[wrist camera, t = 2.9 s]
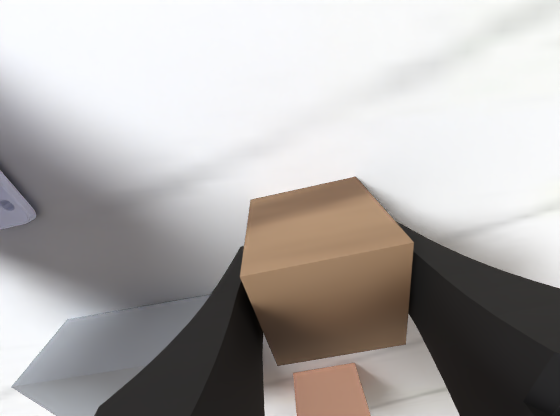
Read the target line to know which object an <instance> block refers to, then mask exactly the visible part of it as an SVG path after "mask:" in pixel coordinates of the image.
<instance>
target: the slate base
mask: <svg viewBox="0 0 560 416" xmlns="http://www.w3.org/2000/svg"><path fill="white" fill-rule="evenodd" d="M210 295H211V294H210ZM210 295H204V296H199V297H193V298H187V299H182V300H176V301H170V302H165V303H159V304H153V305H147V306H142V307H136V308H130V309H125V310H119V311H113V312H107V313H102V314H96V315H90V316H85V317H79V318H73V319H67V321H66V322H65V323H64V324H63V325H62V327H61V328H60V329H59V330H58V331H57V333H56V334H55V335H54V336H53V337H52V339H51V340H50V341H49V342H48V343H47V345H46V346H45V347H44V348H43V349H42V351H41V352H40V353H39V354H38V355H37V357H36V358H35V359H34V360H33V361H32V363H31V364H30V365H29V366H28V367H27V369H26V370H25V371H24V372H23V374H22V375H21V376H20V377H19V378H18V380H17V381H16V382H15V383H14V384H13V386H12V388H14V389H15V390H17V391H18V392H20V393H21V394H23V395H25V396H26V397H28V398H29V399H31V400H32V401H34V402H36V403H37V404H39V405H40V406H42V407H43V408H45V409H47V410H48V411H50V412H51V413H53V414H54V415H56V416H94V415H95V413H96V411H97V409H98V407H99V406H100V405H101V404H103V403H104V402H105V401H106V400H107V399H109V398H110V397H111V396H112V395H113V394H115V393H116V392H117V391H118V390H119V389H120V388H122V387H123V386H124V385H125V384H126V383H128V382H129V381H130V380H131V379H132V378H133V377H135V376H136V375H137V374H138V373H139V372H140V371H141V370H142V369H143V368H145V367H146V366H147V365H148V364H149V363H150V362H151V361H152V360H153V359H154V358H155V357H156V356H157V355H158V354H159V353H160V352H161V351H162V350H163V349H164V348H166V346H167V345H168V344H169V343H170V342H171V341H172V340H173V339H174V338H175V337H176V336H177V335H178V334H179V333H180V332H181V331H182V329H183V328H184V327H185V326H186V325H187V324H188V323H189V322H190V321H191V319H192V318H193V317H194V316H195V315H196V313H197V312H198V311H199V310H200V309H201V307H202V306H203V305H204V303H205V302H206V301H207V299H208V298H209V296H210Z"/></svg>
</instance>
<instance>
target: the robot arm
mask: <svg viewBox="0 0 560 416" xmlns="http://www.w3.org/2000/svg"><path fill="white" fill-rule="evenodd" d="M10 202H11V203H10ZM35 217H36V212H35V210H34V209H33V208H32V206H31V205H30V204H29V203H28V202H27V201H26V199H25V198H24V197H23V196H22V195H21V194H20V193H19V191H18V190H17V189H16V188H15V187H14V186H13V184H12V183H11V182H10V181H9V180H8V179H7V177H6V176H5V175H4V174H3V173H2V172H1V170H0V230H1V229H5V228H10V227H14V226H19V225H23V224H26V223H29V222H30V221H32V220H34V219H35ZM395 222H396V221H395ZM396 223H397V224H398V225H399V226H400V227H401V228H402V230H403V231H404V232H405V233H406V234H407V235H408V236H409V237H410V239H411V240H412V241H413V242H414V248H413V260H412V272H411V285H410V297H409V309H408V313H409V315H410V316H411V318H412V320H413V321H414V323H415V325H416V327H417V328H418V330H419V332H420V334H421V336H422V338H423V340H424V342H425V344H426V346H427V348H428V350H429V352H430V354H431V356H432V358H433V360H434V362H435V364H436V366H437V368H438V370H439V372H440V374H441V376H442V378H443V380H444V382H445V385H446V387H447V389H448V391H449V393H450V395H451V397H452V400H453V402H454V404H455V406H456V408H457V410H458V412H459V415H460V416H560V288H556V287H552V286H549V285H546V284H542V283H539V282H536V281H532V280H529V279H526V278H523V277H520V276H517V275H514V274H511V273H508V272H505V271H502V270H499V269H497V268H494V267H491V266H488V265H486V264H483V263H481V262H478V261H476V260H473V259H471V258H468V257H466V256H463V255H461V254H459V253H457V252H454V251H452V250H450V249H448V248H446V247H444V246H441V245H439V244H437V243H435V242H433V241H431V240H429V239H427V238H426V237H424V236H422V235H420V234H418V233H416V232H414V231H412V230H411V229H409V228H407V227H405V226H403V225H402V224H400V223H398V222H396ZM243 251H244V246H242V247H240V249H239V250H238V252H237V254H236V256H235V257H234V259H233V261H232V262H231V264H230V266H229V267H228V269H227V271H226V272H225V274H224V276H223V277H222V279H221V280H220V282H219V283H218V285H217V286H216V288H215V289H214V291H213V292H212V294H211V295H210V296H209V298H208V299H207V301H206V302H205V303H204V305H203V306H202V307H201V309H200V310H199V311H198V312H197V313H196V315H195V316H194V317H193V318H192V319H191V321H190V322H189V323H188V324H187V325H186V326H185V327H184V328H183V329H182V331H181V332H180V333H179V334H178V335H177V336H176V337H175V338H174V339H173V340H172V341H171V342H170V343H169V344H168V345H167V346H166V348H164V349H163V350H162V351H161V352H160V353H159V354H158V355H157V356H156V357H155V358H154V359H153V360H152V361H151V362H150V363H149V364H148V365H147V366H146V367H145V368H143V369H142V370H141V371H140V372H139V373H138V374H137V375H136V376H135V377H133V378H132V379H131V380H130V381H129V382H128V383H126V384H125V385H124V386H123V387H122V388H120V389H119V390H118V391H117V392H116V393H115V394H113V395H112V396H111V397H110V398H109V399H107V400H106V401H105V402H104V403H103V404H101V405H100V406H99V407H98V409H97V411H96V413H95V415H94V416H265V414H264V391H263V361H262V349H263V330H262V328H261V326H260V323H259V321H258V318H257V316H256V314H255V311H254V309H253V307H252V304H251V302H250V300H249V297H248V295H247V293H246V290H245V288H244V285H243V283H242V281H241V278H240V272H241V265H242V258H243Z"/></svg>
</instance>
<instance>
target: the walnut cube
mask: <svg viewBox="0 0 560 416" xmlns="http://www.w3.org/2000/svg"><path fill="white" fill-rule="evenodd" d="M413 248H414V242H413V241H412V240H411V239H410V237H409V236H408V235H407V234H406V233H405V232H404V231H403V230H402V228H401V227H400V226H399V225H398V224H397V223H396V222H395V221H394V219H393V218H392V217H391V216H390V215H389V214H388V213H387V212H386V210H385V209H384V208H383V207H382V206H381V205H380V204H379V203H378V201H377V200H376V199H375V198H374V197H373V196H372V195H371V193H370V192H369V191H368V190H367V189H366V188H365V187H364V186H363V184H362V183H361V182H360V181H359V180H358V179H357V178H356V177H352V178H348V179H343V180H338V181H334V182H329V183H325V184H320V185H316V186H311V187H307V188H302V189H297V190H293V191H288V192H284V193H279V194H275V195H270V196H266V197H261V198H256V199H252V200H251V201H250V208H249V215H248V223H247V230H246V237H245V244H244V251H243V258H242V265H241V272H240V278H241V281H242V283H243V285H244V288H245V290H246V293H247V295H248V297H249V300H250V302H251V304H252V307H253V309H254V311H255V314H256V316H257V318H258V321H259V323H260V326H261V328H262V330H263V333H264V335H265V337H266V340H267V342H268V344H269V347H270V349H271V352H272V354H273V356H274V359H275V361H276V363H277V366H280V365H286V364H292V363H298V362H304V361H310V360H316V359H322V358H328V357H334V356H340V355H346V354H352V353H358V352H364V351H369V350H375V349H381V348H387V347H393V346H399V345H405V344H406V334H407V322H408V309H409V297H410V285H411V272H412V260H413Z"/></svg>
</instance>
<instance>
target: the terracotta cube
mask: <svg viewBox="0 0 560 416" xmlns="http://www.w3.org/2000/svg"><path fill="white" fill-rule="evenodd" d="M293 377H294V389H295V400H296V412H297V416H371V415H370V412H369V408H368V405H367V402H366V399H365V395H364V392H363V389H362V385H361V382H360V379H359V376H358V372H357V369H356V366H355V363H350V364H344V365H338V366H332V367H326V368H320V369H314V370H308V371H302V372H296V373H293Z"/></svg>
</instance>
